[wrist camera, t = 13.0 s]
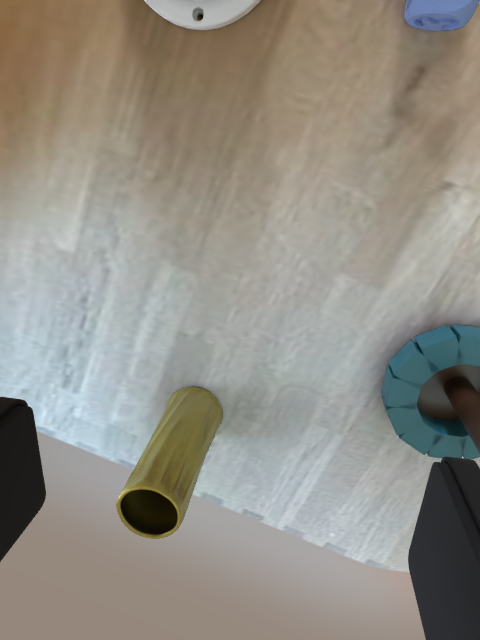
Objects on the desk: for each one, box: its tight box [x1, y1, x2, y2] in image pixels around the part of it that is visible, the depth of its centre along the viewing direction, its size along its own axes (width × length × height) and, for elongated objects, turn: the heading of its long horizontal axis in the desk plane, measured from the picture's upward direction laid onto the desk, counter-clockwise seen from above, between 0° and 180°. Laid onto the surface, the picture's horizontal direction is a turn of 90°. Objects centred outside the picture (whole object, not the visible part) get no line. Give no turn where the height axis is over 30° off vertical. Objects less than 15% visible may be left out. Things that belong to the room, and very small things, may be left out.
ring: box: [381, 324, 480, 459], centre depth 38 cm, size 12×12×3 cm
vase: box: [116, 387, 223, 539], centre depth 39 cm, size 6×6×14 cm
